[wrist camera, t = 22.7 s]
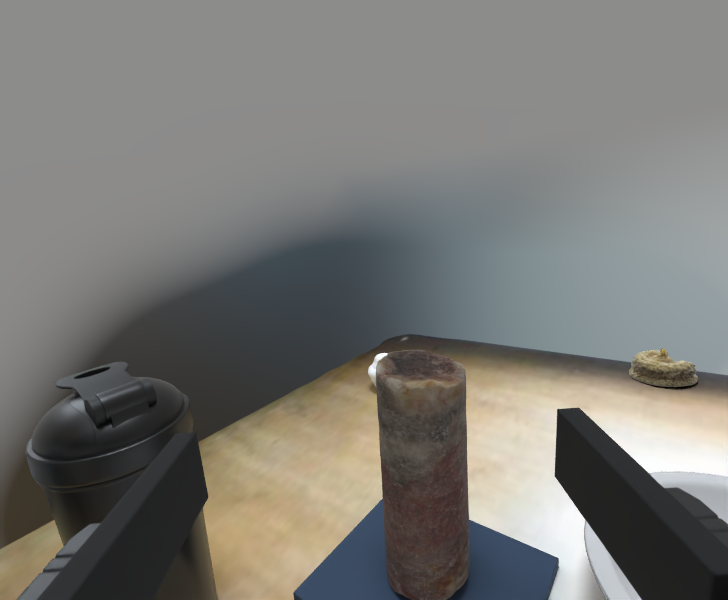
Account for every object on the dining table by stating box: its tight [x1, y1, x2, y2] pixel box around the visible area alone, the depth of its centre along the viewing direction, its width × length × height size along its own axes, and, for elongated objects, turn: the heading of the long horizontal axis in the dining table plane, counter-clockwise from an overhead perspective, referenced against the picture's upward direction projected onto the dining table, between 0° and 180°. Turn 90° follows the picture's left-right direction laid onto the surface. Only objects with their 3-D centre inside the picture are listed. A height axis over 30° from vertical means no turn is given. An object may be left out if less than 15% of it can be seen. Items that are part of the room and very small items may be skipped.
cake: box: [629, 349, 698, 387], centre depth 70 cm, size 10×10×5 cm
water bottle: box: [26, 362, 217, 600], centre depth 31 cm, size 10×10×23 cm
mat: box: [294, 499, 559, 600], centre depth 36 cm, size 18×16×1 cm
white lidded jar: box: [368, 353, 387, 386], centre depth 75 cm, size 6×6×7 cm
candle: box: [376, 350, 470, 600], centre depth 34 cm, size 8×7×20 cm
